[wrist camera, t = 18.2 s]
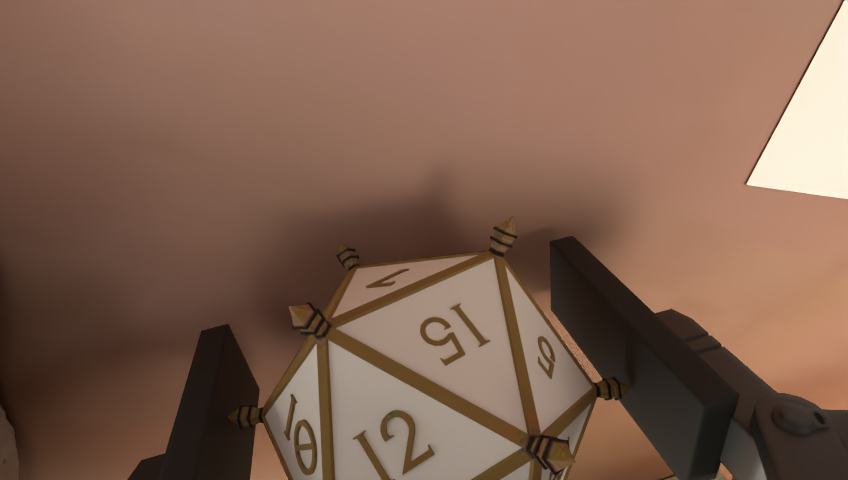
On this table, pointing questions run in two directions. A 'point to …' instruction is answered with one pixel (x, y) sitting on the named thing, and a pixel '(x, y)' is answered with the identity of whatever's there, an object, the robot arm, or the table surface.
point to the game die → (430, 377)
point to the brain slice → (8, 450)
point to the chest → (719, 479)
